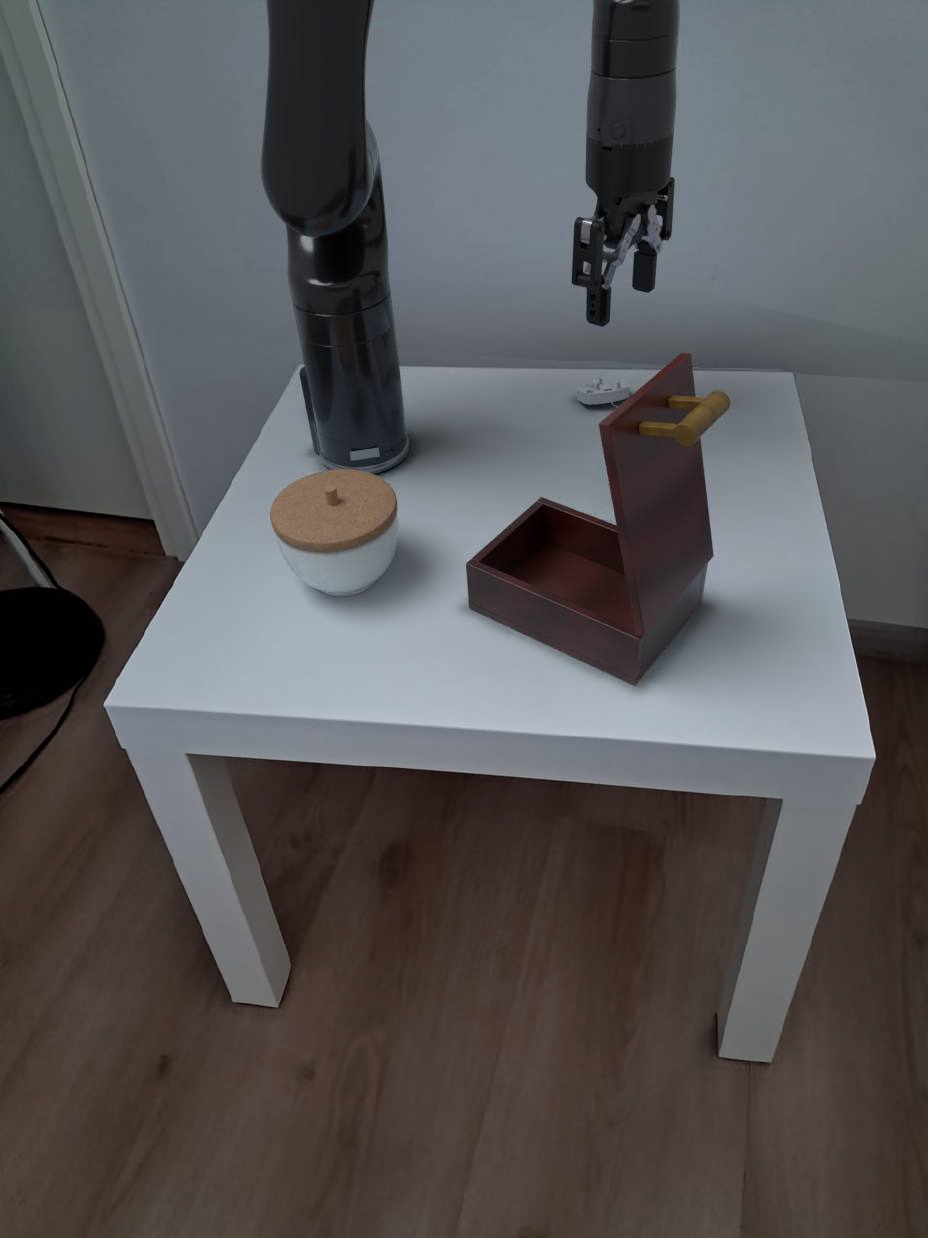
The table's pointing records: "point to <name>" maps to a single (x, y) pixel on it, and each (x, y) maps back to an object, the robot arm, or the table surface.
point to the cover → (661, 487)
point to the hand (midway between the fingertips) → (620, 306)
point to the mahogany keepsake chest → (572, 590)
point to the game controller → (603, 392)
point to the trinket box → (337, 529)
